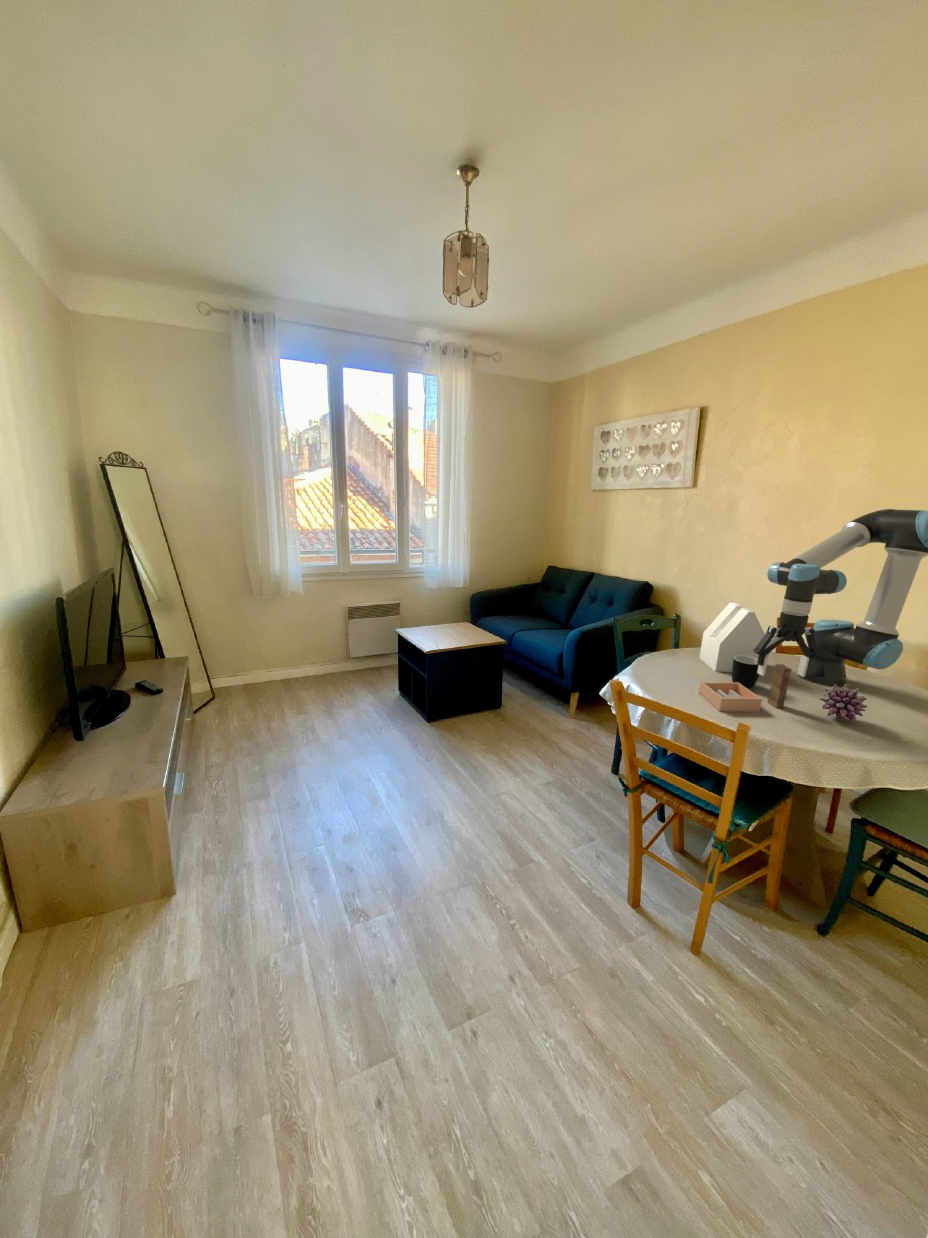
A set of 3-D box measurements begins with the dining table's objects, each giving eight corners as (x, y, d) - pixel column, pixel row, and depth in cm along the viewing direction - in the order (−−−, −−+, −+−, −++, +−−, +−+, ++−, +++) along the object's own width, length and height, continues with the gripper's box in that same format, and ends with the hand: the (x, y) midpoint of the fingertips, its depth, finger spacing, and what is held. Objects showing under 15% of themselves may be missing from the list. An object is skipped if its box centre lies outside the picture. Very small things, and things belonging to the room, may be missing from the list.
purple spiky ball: (848, 731, 144) (858, 695, 140) (807, 714, 154) (815, 680, 151) (871, 725, 148) (880, 689, 145) (829, 708, 159) (838, 675, 155)
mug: (761, 691, 171) (766, 665, 169) (734, 689, 172) (739, 663, 170) (746, 678, 183) (751, 653, 180) (722, 676, 184) (726, 652, 181)
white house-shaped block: (715, 671, 189) (725, 611, 182) (699, 658, 204) (708, 601, 197) (765, 673, 188) (777, 612, 181) (745, 660, 203) (756, 603, 196)
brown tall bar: (774, 702, 162) (782, 664, 159) (782, 708, 158) (791, 669, 154) (767, 702, 162) (775, 664, 159) (775, 708, 158) (784, 669, 154)
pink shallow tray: (736, 694, 168) (738, 682, 167) (759, 711, 156) (762, 698, 154) (698, 693, 168) (700, 682, 167) (719, 711, 155) (721, 698, 154)
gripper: (824, 610, 156) (809, 671, 161) (749, 608, 155) (737, 669, 160) (842, 616, 148) (826, 680, 154) (764, 614, 148) (750, 678, 153)
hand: (780, 674), depth 157 cm, fingers open, 13 cm apart
